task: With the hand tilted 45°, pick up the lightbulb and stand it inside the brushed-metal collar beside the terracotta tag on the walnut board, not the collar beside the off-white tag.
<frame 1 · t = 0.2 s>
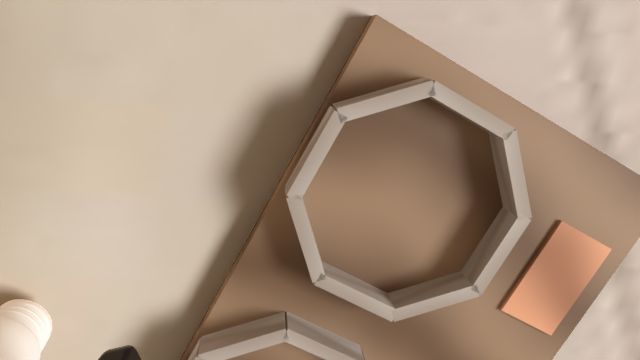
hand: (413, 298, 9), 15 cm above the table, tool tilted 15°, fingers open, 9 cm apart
lightbulb: (32, 313, 25), on the table
tag board: (386, 323, 26), on the table
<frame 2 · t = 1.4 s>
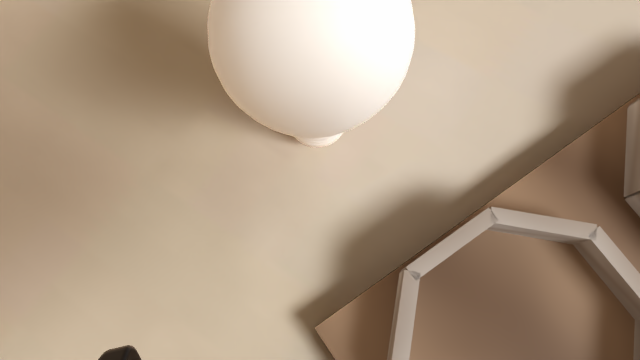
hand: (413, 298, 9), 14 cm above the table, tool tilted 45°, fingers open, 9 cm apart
lightbulb: (317, 127, 24), on the table
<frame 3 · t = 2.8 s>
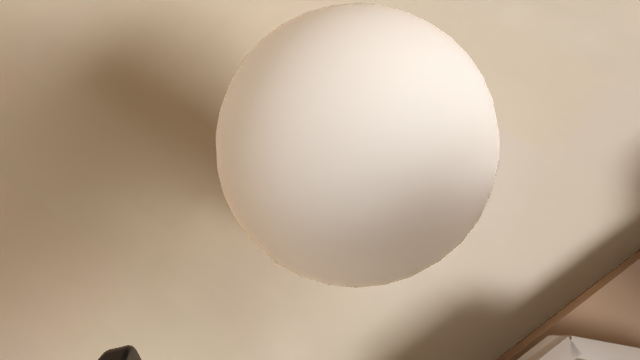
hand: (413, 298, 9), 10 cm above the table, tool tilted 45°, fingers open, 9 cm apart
lightbulb: (346, 216, 20), on the table
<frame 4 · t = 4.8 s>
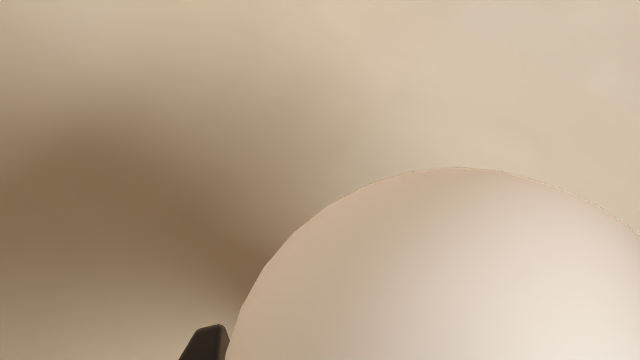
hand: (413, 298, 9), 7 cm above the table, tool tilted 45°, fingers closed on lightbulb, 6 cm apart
lightbulb: (390, 356, 15), on the table, touching gripper
when the fingers open (8 cm above the table, at t = 10.4 s): lightbulb stays where it is, resting on tag board.
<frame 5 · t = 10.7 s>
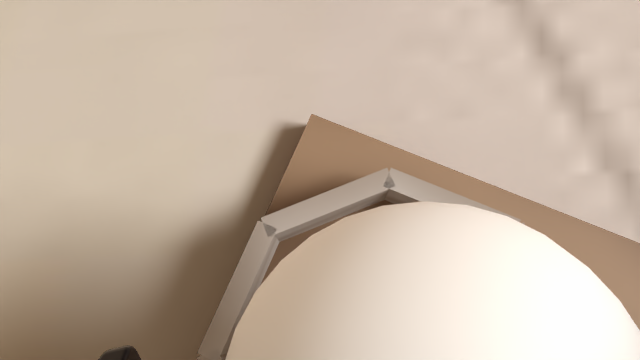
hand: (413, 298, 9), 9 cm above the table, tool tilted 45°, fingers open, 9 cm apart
lightbulb: (377, 359, 16), point 1 cm above the table, touching tag board
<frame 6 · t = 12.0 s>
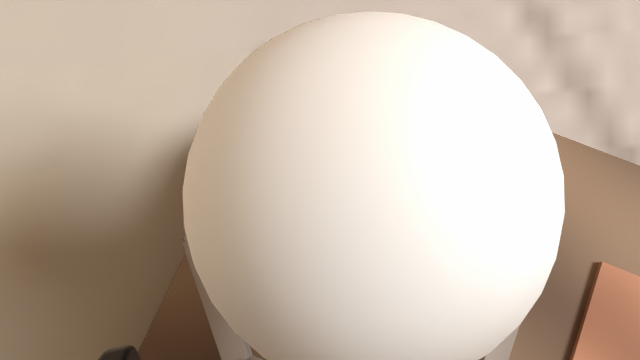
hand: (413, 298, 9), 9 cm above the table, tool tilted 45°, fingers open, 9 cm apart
lightbulb: (351, 254, 17), point 1 cm above the table, touching tag board
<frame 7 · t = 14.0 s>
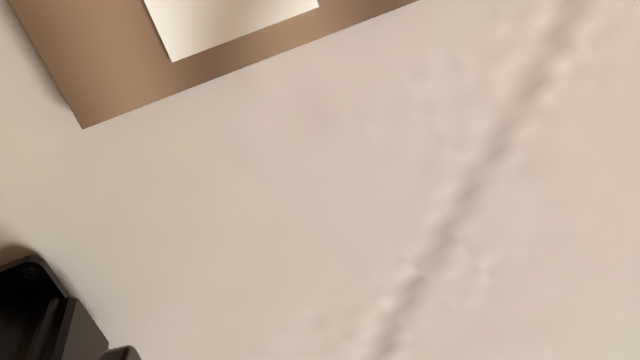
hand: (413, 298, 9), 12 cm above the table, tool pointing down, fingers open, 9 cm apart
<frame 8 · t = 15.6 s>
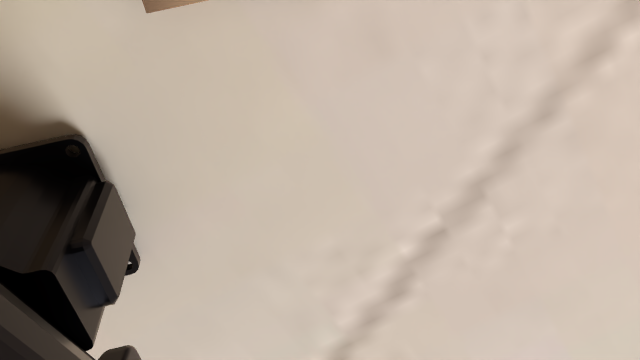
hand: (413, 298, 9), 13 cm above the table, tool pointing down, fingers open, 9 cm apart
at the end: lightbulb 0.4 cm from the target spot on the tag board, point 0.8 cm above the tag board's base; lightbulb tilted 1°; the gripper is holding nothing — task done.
